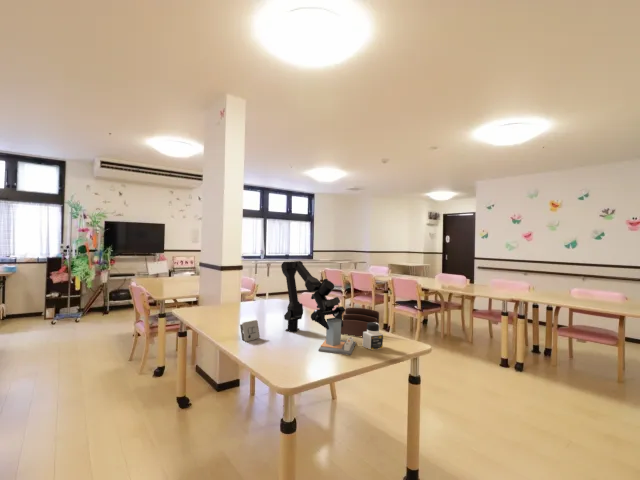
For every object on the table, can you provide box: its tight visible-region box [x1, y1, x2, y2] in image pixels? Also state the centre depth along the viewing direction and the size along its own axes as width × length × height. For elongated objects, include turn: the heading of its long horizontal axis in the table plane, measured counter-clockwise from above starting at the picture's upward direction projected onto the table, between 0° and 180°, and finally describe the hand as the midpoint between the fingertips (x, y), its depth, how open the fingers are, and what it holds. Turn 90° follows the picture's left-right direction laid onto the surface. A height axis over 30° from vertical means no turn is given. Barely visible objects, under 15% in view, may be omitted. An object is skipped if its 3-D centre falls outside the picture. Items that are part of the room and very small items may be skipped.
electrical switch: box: [239, 319, 261, 342], centre depth 168 cm, size 9×5×9 cm, turn 141°
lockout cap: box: [325, 317, 343, 346], centre depth 161 cm, size 5×5×12 cm
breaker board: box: [318, 336, 357, 356], centre depth 160 cm, size 18×15×4 cm
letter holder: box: [341, 307, 380, 338], centre depth 185 cm, size 10×20×14 cm, turn 69°
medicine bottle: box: [362, 322, 384, 351], centre depth 162 cm, size 7×7×12 cm
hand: (335, 328), depth 160 cm, fingers open, 9 cm apart
